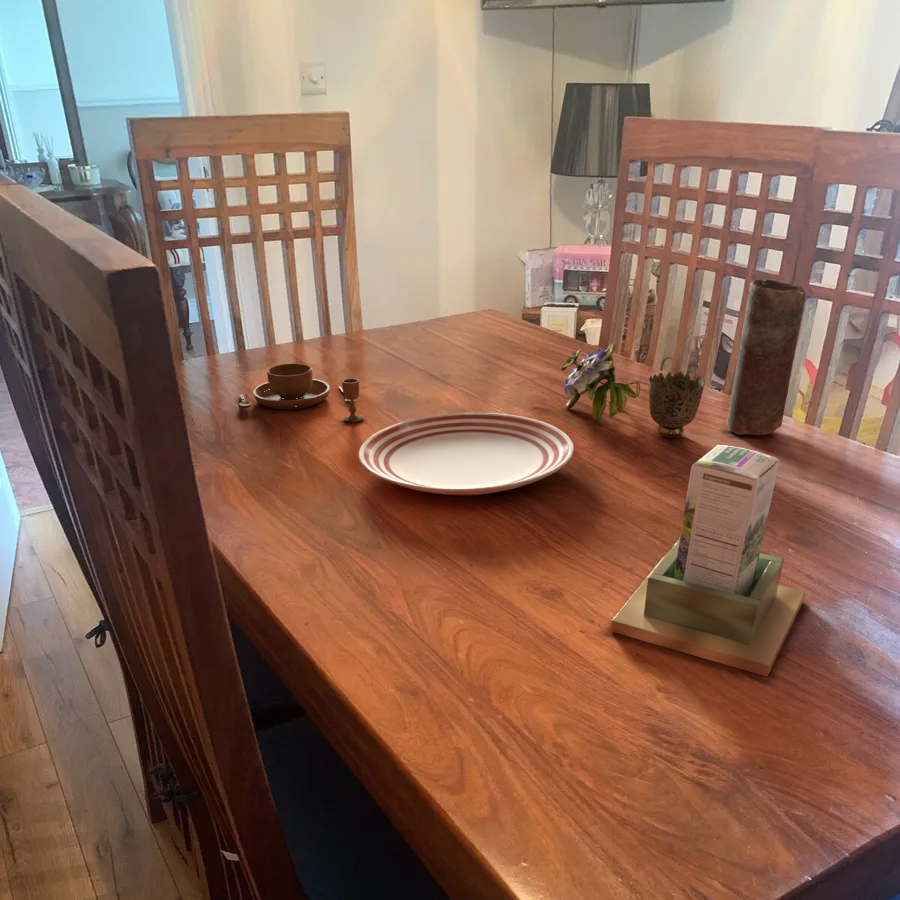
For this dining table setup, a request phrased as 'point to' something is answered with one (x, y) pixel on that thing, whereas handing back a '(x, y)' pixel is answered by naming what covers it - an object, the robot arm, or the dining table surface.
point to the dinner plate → (466, 453)
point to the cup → (674, 402)
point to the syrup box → (725, 519)
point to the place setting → (300, 390)
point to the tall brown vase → (765, 357)
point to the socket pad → (713, 616)
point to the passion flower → (591, 375)
